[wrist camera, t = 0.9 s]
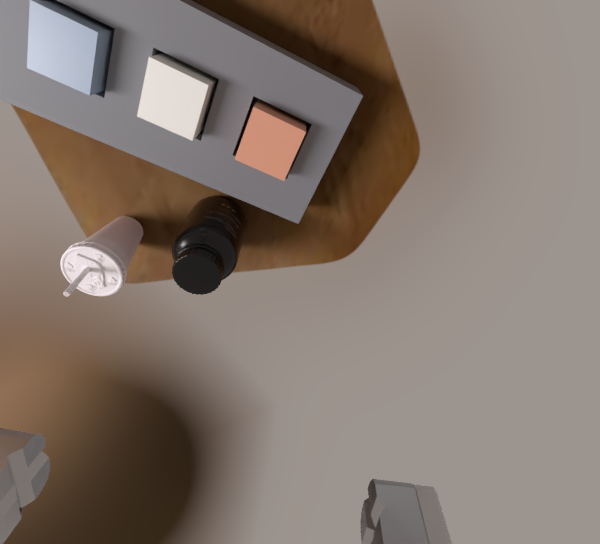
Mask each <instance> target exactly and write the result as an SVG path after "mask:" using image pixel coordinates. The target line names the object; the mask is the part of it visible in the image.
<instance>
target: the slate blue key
mask: <svg viewBox="0 0 600 544" xmlns="http://www.w3.org/2000/svg"><path fill="white" fill-rule="evenodd" d="M114 30H115V29H114V28H112V27H110V26H108V25H106V24H104V23H102V22H100V21H98V20H96V19H94V18H92V17H90V16H88V15H86V14H84V13H81V12H79V11H77V10H75V9H73V8H71V7H69V6H67V5H65V4H63V3H61V2H58V1H43V0H30V7H29V30H28V54H27V68H28V69H31V70H33V71H35V72H37V73H40V74H42V75H44V76H46V77H49V78H51V79H53V80H56V81H58V82H60V83H62V84H65V85H67V86H69V87H71V88H74V89H76V90H78V91H80V92H83V93H85V94H87V95H93V94H95V93H98V92H101V91H104V90H106V83H107V77H108V70H109V63H110V57H111V50H112V44H113V37H114Z"/></svg>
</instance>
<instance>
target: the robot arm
mask: <svg viewBox="0 0 600 544" xmlns="http://www.w3.org/2000/svg"><path fill="white" fill-rule="evenodd" d="M45 446H46V442H45V439H44V435H39V434H33V433H26V432H21V431H14V430H8V429H2V428H0V544H3V543H4V542H5V540H6V539H7V537H8V536H9V535H10V533H11V532H12V530H13V529H14V528H15V526H16V525H17V524H18V522H19V521H20V520H21V518H22V507H24V506H25V505H27V504H29V503H30V502H32V501H33V500H35V499H36V497H37V496H38V495H39V493H40V492H41V490H42V489H43V487H44V485H45V483H46V480H47V478H48V475H49V471H50V461H49V457H48V456H47V455H46V454H45V453H44V452H43V451H42V449H43V448H44V447H45ZM368 495H369V498H368V499H366V500H365V501H364V504H363V508H362V514H361V540H362V544H452V542H451V539H450V536H449V532H448V529H447V526H446V523H445V519H444V516H443V512H442V509H441V506H440V502H439V500H438V496H437V492H436V491H435V489H434V488H433V487H429V486H420V485H412V484H409V483H402V482H393V481H385V480H377V479H372V480H371V481H370V483H369V486H368Z"/></svg>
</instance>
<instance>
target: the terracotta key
mask: <svg viewBox="0 0 600 544" xmlns="http://www.w3.org/2000/svg"><path fill="white" fill-rule="evenodd" d="M305 134H306V121H304V120H302V119H300V118H298V117H296V116H294V115H292V114H289V113H287V112H285V111H283V110H281V109H279V108H277V107H275V106H273V105H271V104H269V103H267V102H265V101H263V100H261V99H259V98H258V100H257V102H256V103H255V105H254V107H253V109H252V112H251V115H250V118H249V120H248V123H247V126H246V129H245V132H244V134H243V137H242V140H241V143H240V145H239V148H238V151H237V154H236V156H235V160H237V161H239V162H241V163H244V164H246V165H248V166H251V167H253V168H255V169H257V170H260V171H262V172H264V173H266V174H269V175H271V176H273V177H275V178H278V179H280V180H282V181H284V180H285V178H286V176H287V174H288V171H289V169H290V167H291V165H292V162H293V160H294V158H295V156H296V154H297V151H298V149H299V147H300V145H301V142H302V140H303V138H304V136H305Z"/></svg>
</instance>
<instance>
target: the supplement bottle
mask: <svg viewBox="0 0 600 544" xmlns="http://www.w3.org/2000/svg"><path fill="white" fill-rule="evenodd" d="M245 229H246V220H245V217H244V214H243V212H242V211H241V209H240V208H239V207H238V206H237V205H236V204H235V203H233V202H232V201H230V200H228V199H226V198H222V197H208V198H205V199H203V200H201V201H199V202H198V203H197V204H196V205H195V206H194V207H193V209H192V210H191V212H190V214H189V216H188V217H187V219H186V221H185V222H184V224H183V226H182V228H181V229H180V231H179V233H178V235H177V236H176V238H175V240H174V243H173V246H172V256H173V260H174V264H173V268H172V270H173V271H172V274H173V278H174V280H175V282H176V283H177V285H179V286H180V287H181V288H183V289H184V290H186V291H187V292H190V293H192V294H207V293H211V292H212V291H214V290H215V289H216V288H218V286H219V285H220V283H221V280H223V279H225V278H226V277H228V276H229V275H230V274H231V273H232V272H233V270H234V269H235V267H236V264H237V261H238V257H239V253H240V249H241V246H242V242H243V238H244V234H245Z"/></svg>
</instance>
